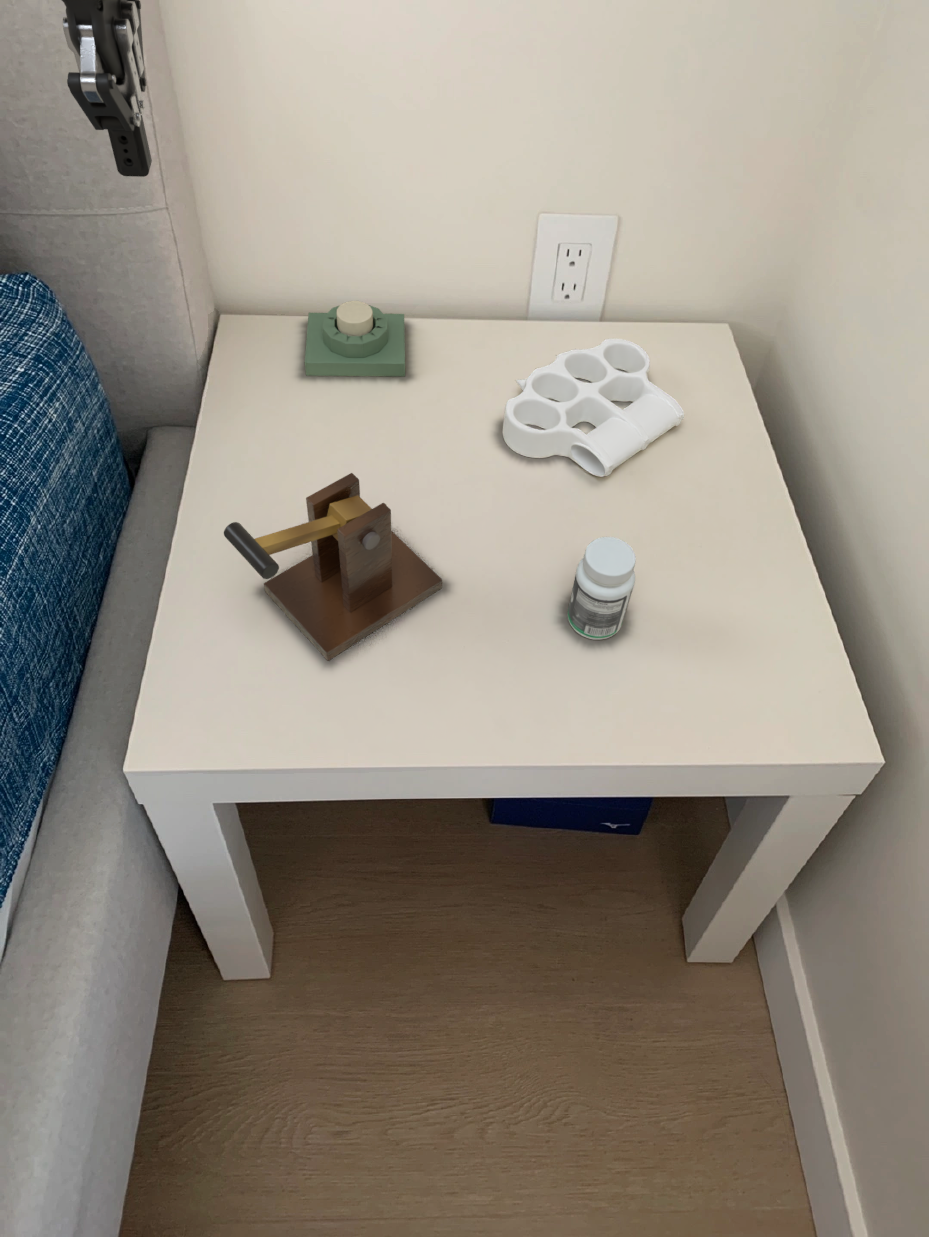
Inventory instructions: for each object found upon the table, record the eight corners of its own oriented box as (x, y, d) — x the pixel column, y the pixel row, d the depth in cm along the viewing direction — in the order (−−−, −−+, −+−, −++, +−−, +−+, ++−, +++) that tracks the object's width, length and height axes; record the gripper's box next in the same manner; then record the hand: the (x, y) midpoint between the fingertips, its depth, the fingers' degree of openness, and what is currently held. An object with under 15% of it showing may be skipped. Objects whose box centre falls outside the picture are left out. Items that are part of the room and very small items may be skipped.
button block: (306, 375, 99) (303, 347, 96) (309, 325, 103) (307, 297, 101) (405, 376, 99) (404, 349, 97) (404, 327, 104) (404, 299, 101)
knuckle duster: (580, 502, 90) (470, 419, 96) (699, 415, 98) (592, 344, 104) (585, 476, 88) (472, 393, 93) (708, 389, 95) (597, 317, 101)
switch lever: (259, 587, 69) (264, 561, 68) (221, 544, 71) (225, 519, 70) (379, 545, 76) (386, 522, 75) (341, 508, 79) (347, 484, 77)
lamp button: (336, 337, 98) (335, 322, 96) (337, 314, 100) (336, 300, 98) (372, 337, 98) (372, 323, 97) (373, 315, 100) (372, 300, 99)
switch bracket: (327, 661, 79) (318, 578, 70) (264, 592, 82) (248, 505, 74) (442, 588, 84) (446, 502, 75) (377, 526, 87) (375, 437, 79)
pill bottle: (590, 587, 85) (606, 522, 78) (633, 619, 83) (654, 556, 76) (554, 618, 82) (568, 554, 76) (598, 651, 81) (615, 589, 74)
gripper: (27, -158, 60) (98, 123, 74) (-26, -73, 52) (65, 222, 66) (152, -152, 61) (199, 125, 75) (117, -67, 53) (177, 225, 67)
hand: (136, 171), depth 70 cm, fingers closed
